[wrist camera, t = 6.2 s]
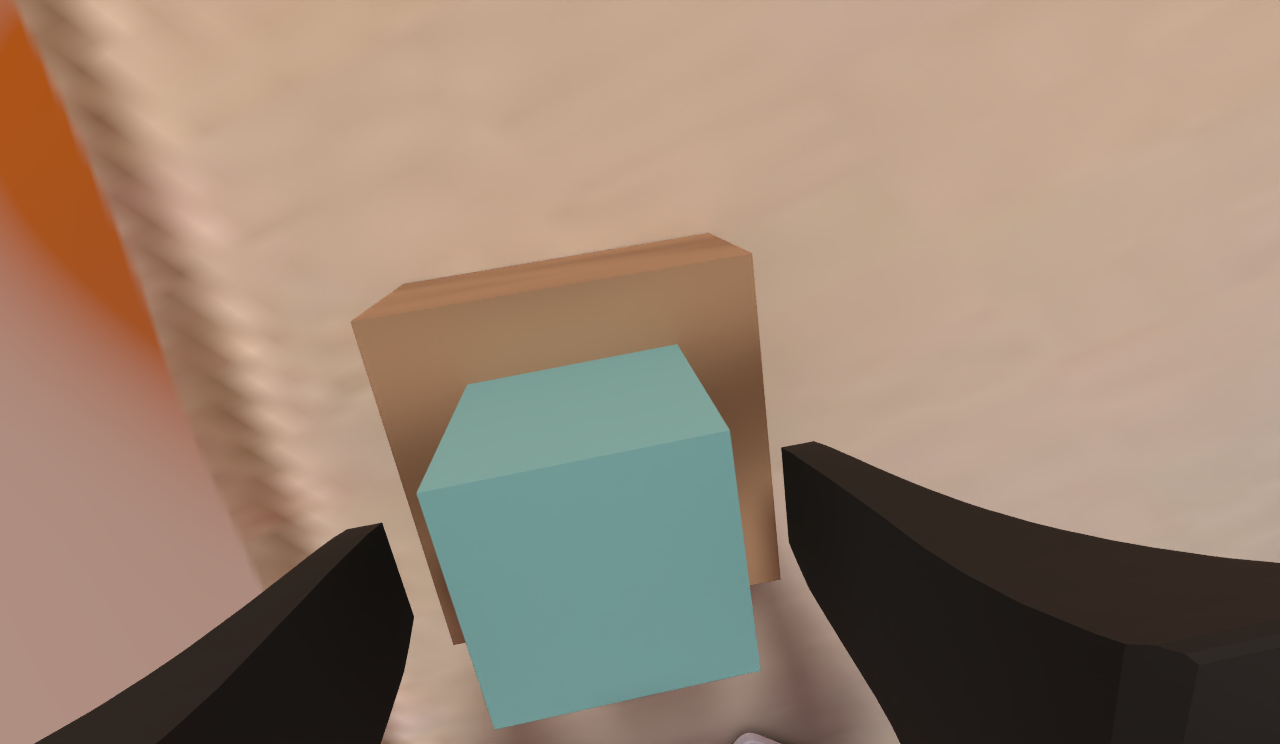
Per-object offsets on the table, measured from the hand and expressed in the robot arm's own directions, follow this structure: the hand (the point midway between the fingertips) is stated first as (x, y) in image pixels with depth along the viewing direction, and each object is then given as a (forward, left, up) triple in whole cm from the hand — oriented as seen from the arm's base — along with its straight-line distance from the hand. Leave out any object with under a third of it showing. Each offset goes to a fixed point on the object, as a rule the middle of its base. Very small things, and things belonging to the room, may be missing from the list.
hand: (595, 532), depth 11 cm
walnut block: (0, 0, -7) cm, 7 cm away
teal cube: (0, 0, -3) cm, 3 cm away
